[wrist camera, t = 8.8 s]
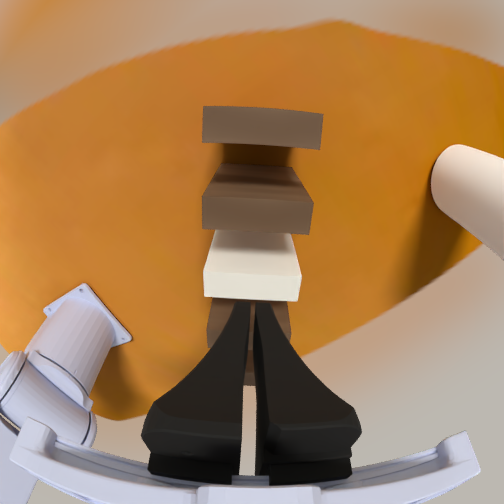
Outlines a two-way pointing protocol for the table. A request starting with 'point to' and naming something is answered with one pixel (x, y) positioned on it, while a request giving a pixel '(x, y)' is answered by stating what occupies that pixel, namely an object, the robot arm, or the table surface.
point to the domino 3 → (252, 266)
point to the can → (472, 192)
